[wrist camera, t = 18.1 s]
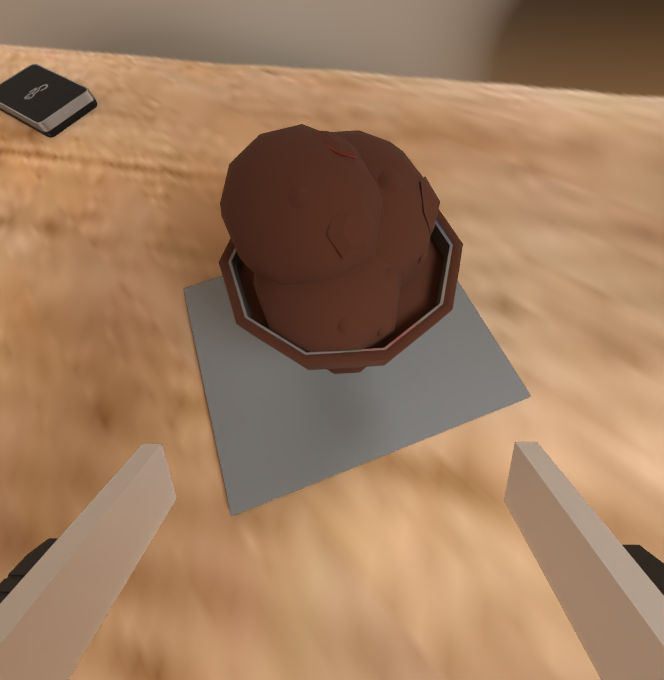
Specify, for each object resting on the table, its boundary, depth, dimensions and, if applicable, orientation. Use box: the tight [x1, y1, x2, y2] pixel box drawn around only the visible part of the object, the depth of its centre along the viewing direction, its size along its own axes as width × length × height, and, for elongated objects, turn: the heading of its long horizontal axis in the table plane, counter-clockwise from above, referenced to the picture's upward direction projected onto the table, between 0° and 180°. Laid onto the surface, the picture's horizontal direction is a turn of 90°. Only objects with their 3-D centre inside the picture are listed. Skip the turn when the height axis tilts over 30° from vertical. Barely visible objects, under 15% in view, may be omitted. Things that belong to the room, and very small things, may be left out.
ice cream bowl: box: [219, 124, 463, 374], centre depth 17 cm, size 11×11×15 cm
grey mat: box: [184, 276, 531, 516], centre depth 24 cm, size 20×17×1 cm
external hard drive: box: [0, 64, 97, 137], centre depth 38 cm, size 7×11×2 cm, turn 55°
